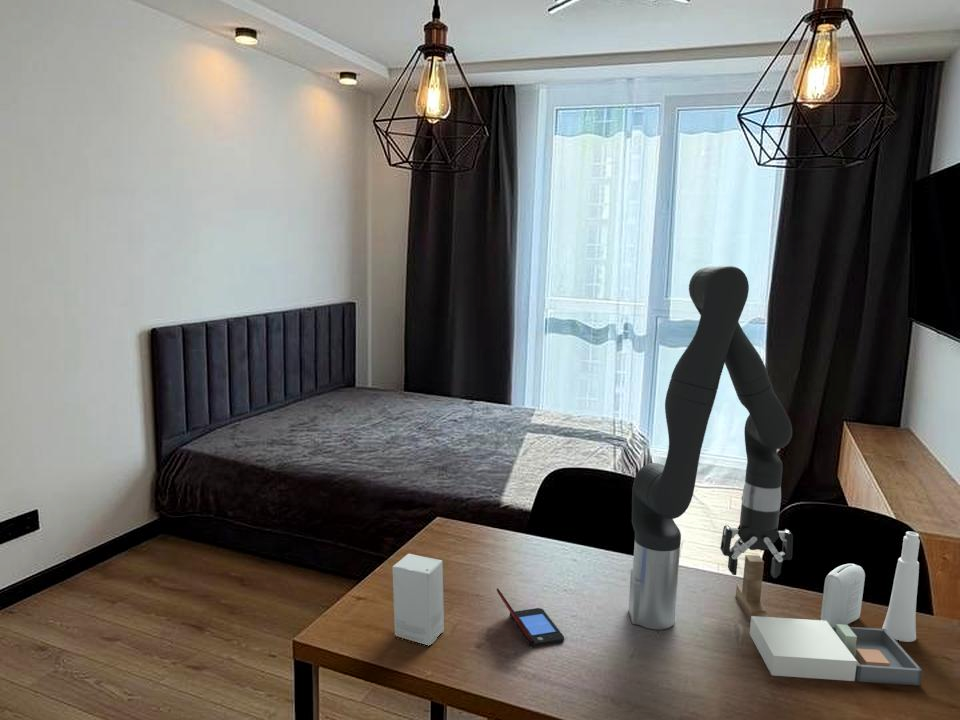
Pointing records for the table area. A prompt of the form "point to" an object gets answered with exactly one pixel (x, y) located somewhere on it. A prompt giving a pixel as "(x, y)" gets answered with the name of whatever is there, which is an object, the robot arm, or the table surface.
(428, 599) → the skincare box
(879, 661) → the terracotta tile
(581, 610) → the table surface
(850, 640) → the sage-green tile
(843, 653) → the off-white plate
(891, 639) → the box
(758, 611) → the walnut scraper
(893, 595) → the cosmetic bottle
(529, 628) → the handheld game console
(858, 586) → the photo printer
